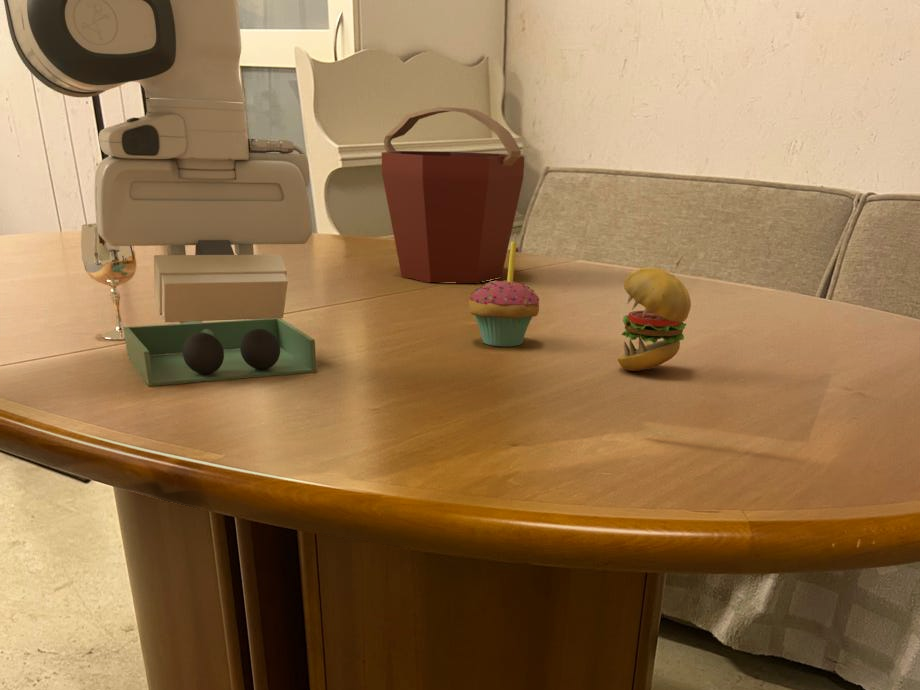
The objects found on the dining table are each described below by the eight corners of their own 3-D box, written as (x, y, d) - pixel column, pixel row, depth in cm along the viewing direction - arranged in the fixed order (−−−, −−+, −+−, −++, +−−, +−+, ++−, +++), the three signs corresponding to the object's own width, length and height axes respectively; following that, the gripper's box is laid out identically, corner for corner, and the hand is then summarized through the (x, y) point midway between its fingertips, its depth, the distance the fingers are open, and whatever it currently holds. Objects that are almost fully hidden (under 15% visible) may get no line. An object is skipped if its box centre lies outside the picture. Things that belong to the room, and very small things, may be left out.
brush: (290, 279, 89) (272, 233, 92) (162, 281, 84) (147, 233, 87) (284, 320, 94) (268, 274, 96) (162, 324, 89) (147, 276, 91)
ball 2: (245, 345, 98) (262, 379, 98) (226, 338, 94) (244, 374, 94) (275, 325, 96) (293, 359, 96) (257, 317, 93) (276, 353, 93)
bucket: (357, 271, 159) (351, 104, 147) (453, 262, 173) (455, 108, 160) (451, 291, 144) (453, 106, 132) (549, 280, 157) (559, 110, 145)
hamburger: (625, 360, 106) (637, 247, 100) (687, 368, 103) (703, 252, 97) (606, 374, 99) (618, 255, 94) (673, 383, 97) (689, 260, 91)
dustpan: (316, 371, 97) (314, 339, 95) (148, 386, 90) (143, 351, 88) (258, 330, 114) (256, 302, 113) (114, 340, 107) (109, 310, 106)
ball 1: (188, 350, 95) (205, 385, 95) (168, 340, 91) (185, 376, 91) (220, 331, 94) (237, 366, 94) (201, 320, 90) (218, 356, 90)
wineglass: (85, 336, 109) (65, 224, 103) (126, 329, 113) (110, 221, 107) (116, 343, 106) (97, 229, 100) (157, 335, 110) (142, 225, 104)
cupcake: (487, 333, 117) (490, 229, 111) (549, 341, 114) (555, 235, 108) (455, 345, 110) (457, 236, 104) (520, 354, 107) (526, 242, 101)
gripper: (297, 139, 93) (304, 285, 100) (80, 132, 85) (104, 291, 91) (317, 142, 88) (323, 294, 95) (89, 133, 80) (113, 302, 86)
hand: (214, 293), depth 93 cm, fingers closed on brush, 3 cm apart
